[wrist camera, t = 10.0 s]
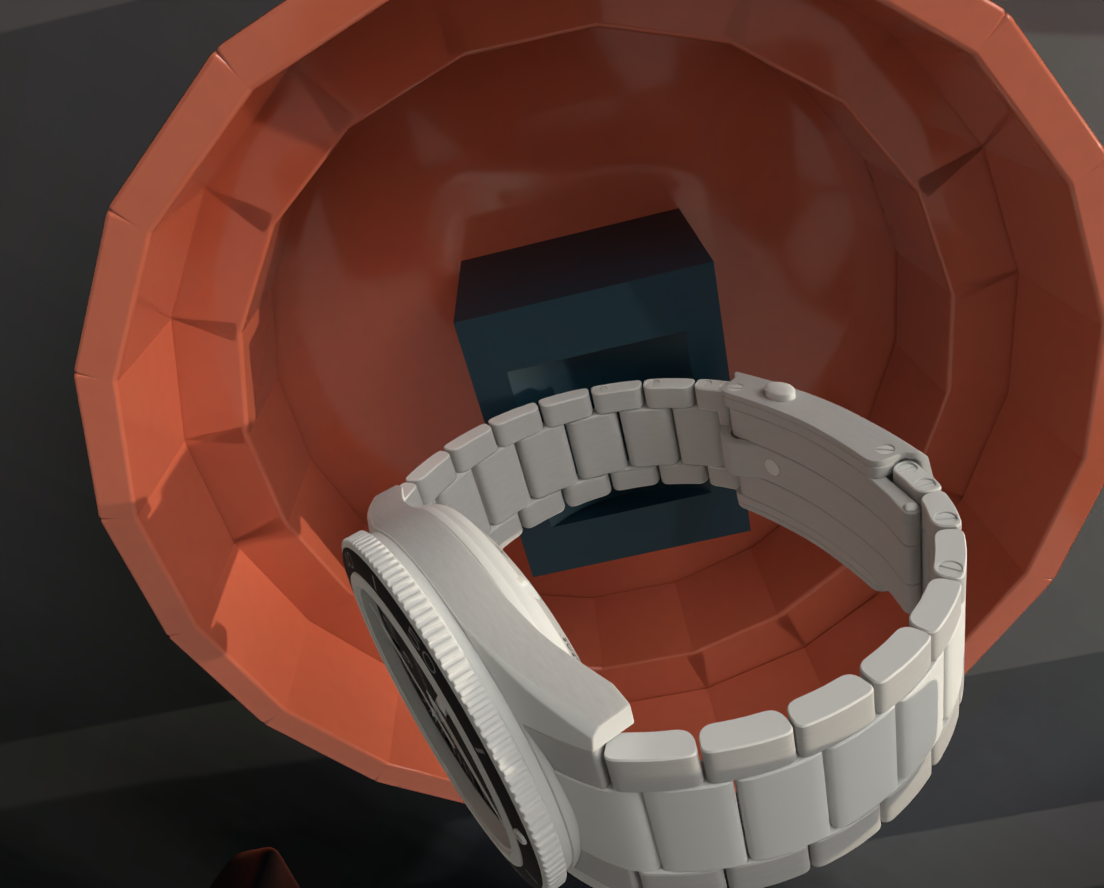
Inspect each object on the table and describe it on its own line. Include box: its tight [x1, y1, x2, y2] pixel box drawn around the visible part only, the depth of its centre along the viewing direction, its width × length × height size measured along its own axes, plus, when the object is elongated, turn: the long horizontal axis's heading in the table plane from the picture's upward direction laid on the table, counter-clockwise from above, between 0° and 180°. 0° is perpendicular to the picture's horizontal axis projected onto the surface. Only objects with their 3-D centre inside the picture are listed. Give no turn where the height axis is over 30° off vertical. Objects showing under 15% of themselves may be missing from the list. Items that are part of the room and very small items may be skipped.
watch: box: [342, 208, 967, 888], centre depth 13 cm, size 6×8×11 cm
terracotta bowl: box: [74, 0, 1104, 804], centre depth 16 cm, size 16×16×6 cm
